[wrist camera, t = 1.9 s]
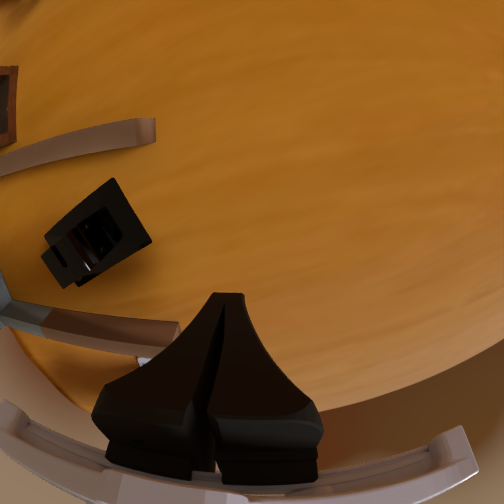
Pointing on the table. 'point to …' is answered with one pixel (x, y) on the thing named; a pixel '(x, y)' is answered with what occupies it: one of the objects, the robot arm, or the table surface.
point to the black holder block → (94, 236)
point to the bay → (72, 322)
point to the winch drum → (8, 104)
